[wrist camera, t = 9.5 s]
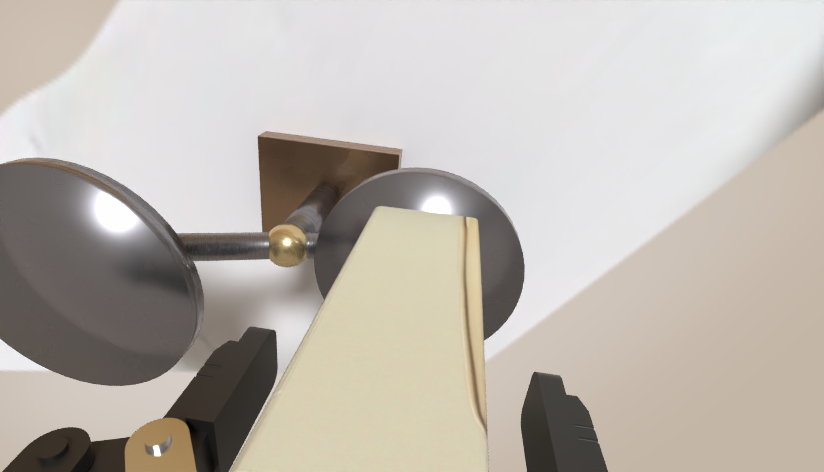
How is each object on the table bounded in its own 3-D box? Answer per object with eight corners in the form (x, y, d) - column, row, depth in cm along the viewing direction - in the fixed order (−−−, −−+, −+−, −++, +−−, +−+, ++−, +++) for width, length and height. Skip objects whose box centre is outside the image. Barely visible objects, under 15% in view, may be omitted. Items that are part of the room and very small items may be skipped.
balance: (521, 138, 24) (573, 242, 13) (491, 277, 28) (510, 452, 17) (155, 90, 25) (-104, 146, 14) (175, 231, 29) (-12, 366, 18)
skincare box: (459, 337, 20) (455, 709, 9) (363, 324, 20) (248, 671, 9) (480, 210, 17) (509, 527, 6) (368, 198, 18) (214, 481, 7)
